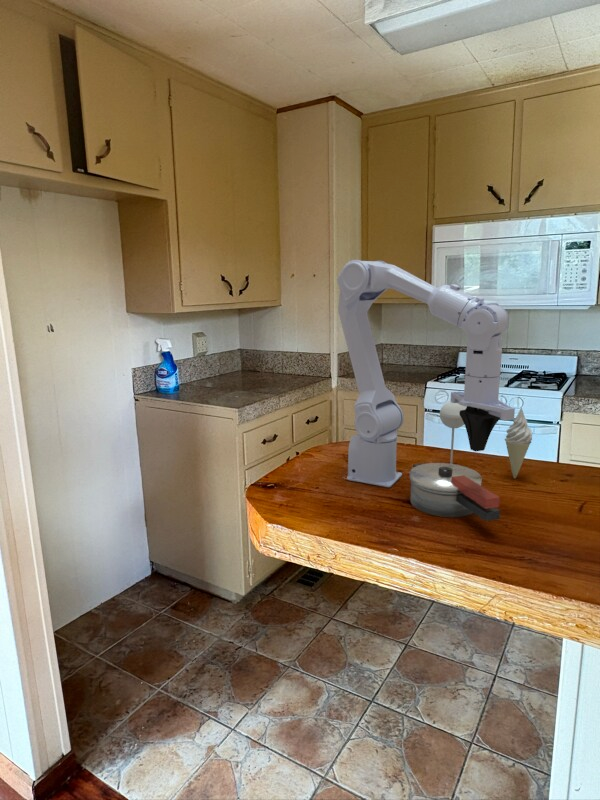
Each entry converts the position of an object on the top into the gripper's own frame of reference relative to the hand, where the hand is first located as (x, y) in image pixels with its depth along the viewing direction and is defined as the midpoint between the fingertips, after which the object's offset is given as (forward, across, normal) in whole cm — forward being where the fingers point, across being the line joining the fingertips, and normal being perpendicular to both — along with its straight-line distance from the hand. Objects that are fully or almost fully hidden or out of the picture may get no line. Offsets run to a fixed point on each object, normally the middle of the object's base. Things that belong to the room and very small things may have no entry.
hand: (477, 449), depth 94 cm
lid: (+6, +1, -5) cm, 8 cm away
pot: (+10, 0, -5) cm, 12 cm away
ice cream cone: (+11, -8, +16) cm, 21 cm away
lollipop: (+11, -17, +8) cm, 22 cm away
